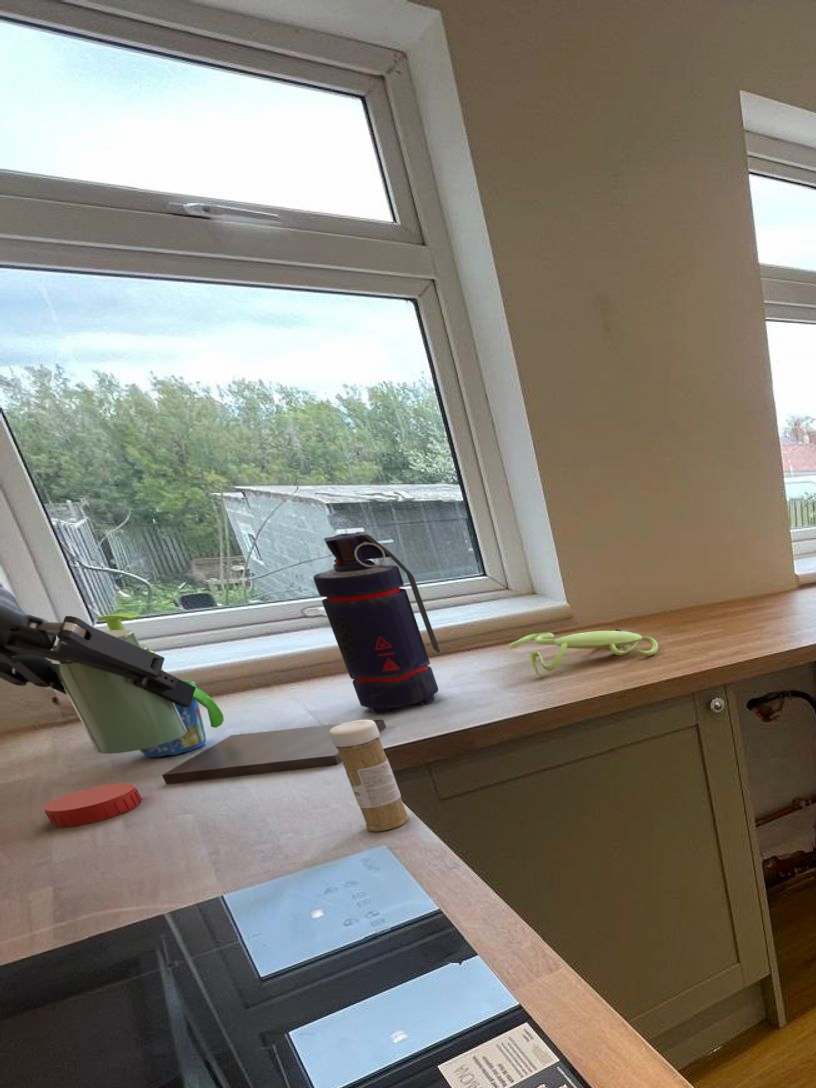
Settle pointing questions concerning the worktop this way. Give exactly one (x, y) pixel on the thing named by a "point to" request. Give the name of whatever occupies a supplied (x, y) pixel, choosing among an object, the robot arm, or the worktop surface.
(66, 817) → the lid
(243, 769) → the board
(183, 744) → the snack cup
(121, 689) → the jar
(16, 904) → the worktop surface
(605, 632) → the figurine
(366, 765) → the sprinkles bottle
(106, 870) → the worktop surface
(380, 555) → the grenade
